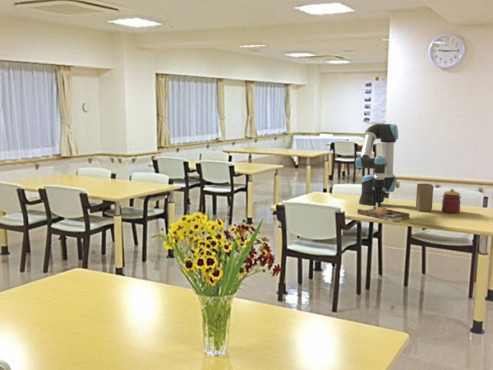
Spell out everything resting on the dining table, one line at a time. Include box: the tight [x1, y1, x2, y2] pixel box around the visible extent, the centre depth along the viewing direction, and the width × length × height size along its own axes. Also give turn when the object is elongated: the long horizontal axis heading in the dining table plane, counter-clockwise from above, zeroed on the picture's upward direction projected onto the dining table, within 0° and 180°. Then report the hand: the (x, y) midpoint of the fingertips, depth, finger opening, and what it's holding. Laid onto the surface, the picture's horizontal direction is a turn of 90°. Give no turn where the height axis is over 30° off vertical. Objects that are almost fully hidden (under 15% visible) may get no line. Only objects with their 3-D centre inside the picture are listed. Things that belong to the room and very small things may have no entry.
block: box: [415, 183, 434, 213], centre depth 400 cm, size 10×10×20 cm
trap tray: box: [357, 206, 410, 223], centre depth 380 cm, size 32×18×4 cm, turn 36°
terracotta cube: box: [376, 206, 387, 215], centre depth 376 cm, size 5×5×5 cm
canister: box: [441, 188, 462, 214], centre depth 395 cm, size 13×13×18 cm
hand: (377, 211), depth 379 cm, fingers closed
